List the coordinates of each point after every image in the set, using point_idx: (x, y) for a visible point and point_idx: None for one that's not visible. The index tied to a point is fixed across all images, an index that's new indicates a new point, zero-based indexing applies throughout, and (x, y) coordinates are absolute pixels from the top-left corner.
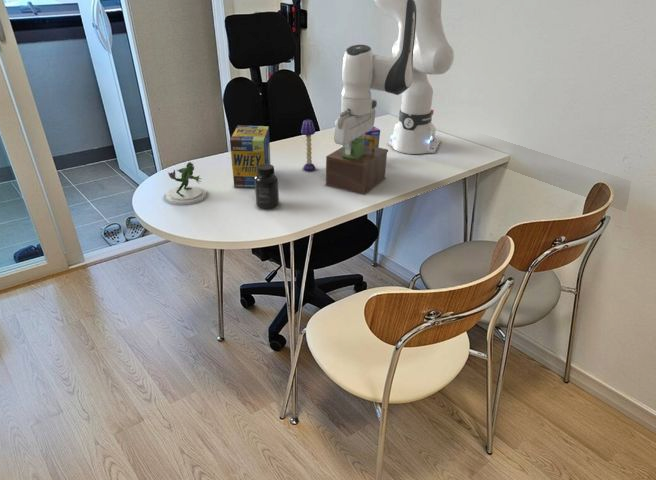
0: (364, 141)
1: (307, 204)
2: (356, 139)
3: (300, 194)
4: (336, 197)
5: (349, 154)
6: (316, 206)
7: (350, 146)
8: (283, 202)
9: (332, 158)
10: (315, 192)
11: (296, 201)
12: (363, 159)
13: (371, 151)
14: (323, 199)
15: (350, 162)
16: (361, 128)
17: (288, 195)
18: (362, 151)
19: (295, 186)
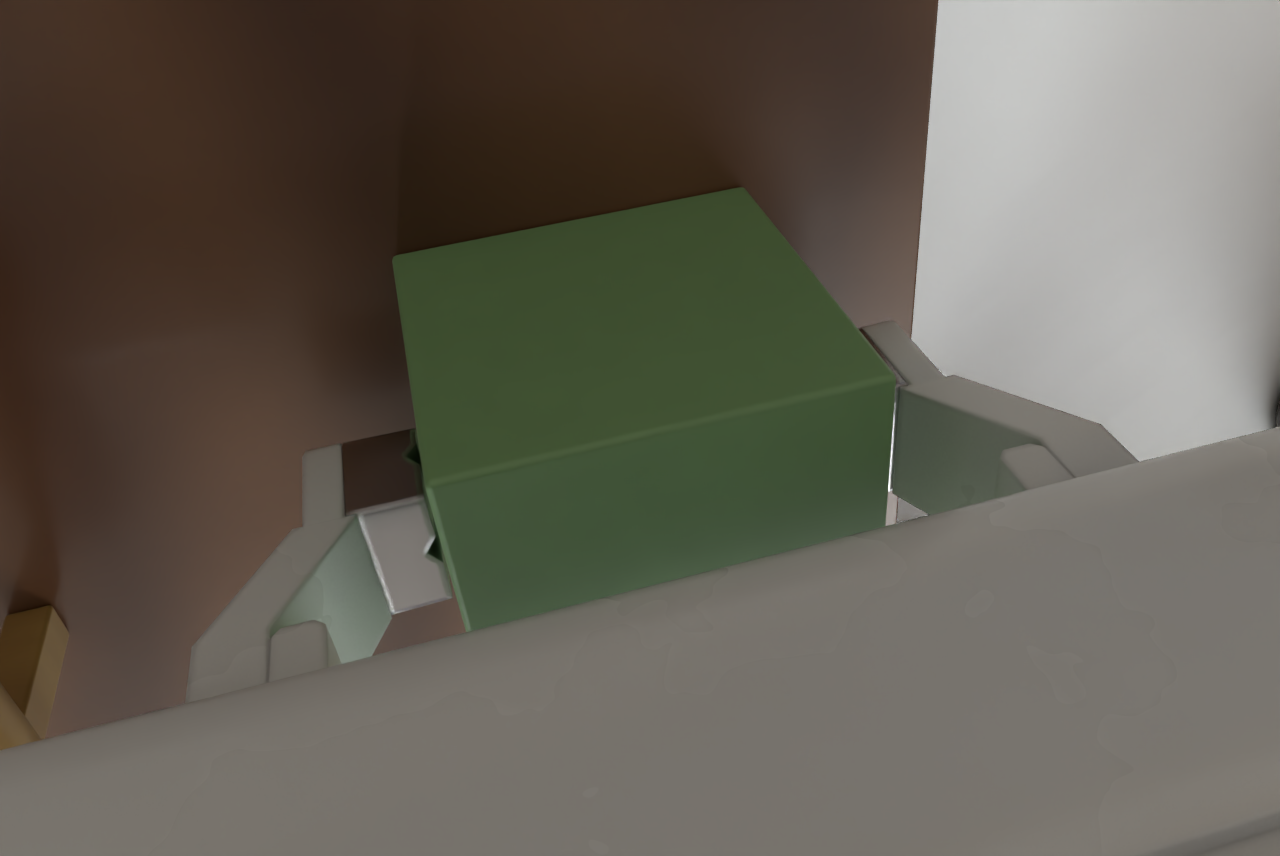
0: (441, 436)
1: (1253, 146)
2: (625, 583)
3: (1058, 356)
4: (973, 19)
5: (887, 329)
6: (1276, 38)
7: (994, 413)
8: (1269, 335)
9: (891, 499)
10: (952, 291)
11: (1217, 272)
12: (668, 66)
13: (56, 269)
14: (1084, 103)
15: (914, 185)
16: (665, 792)
17: (1118, 409)
18: (496, 284)
19: (912, 506)
